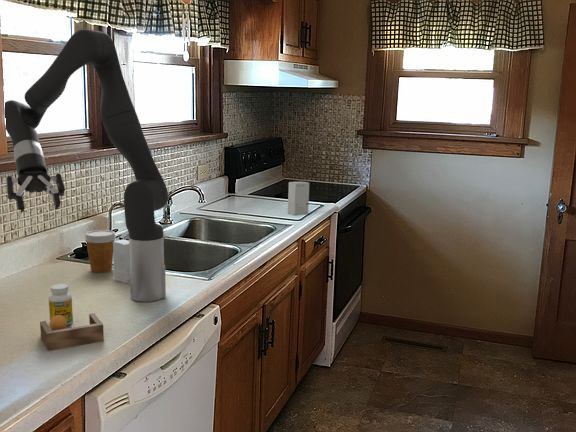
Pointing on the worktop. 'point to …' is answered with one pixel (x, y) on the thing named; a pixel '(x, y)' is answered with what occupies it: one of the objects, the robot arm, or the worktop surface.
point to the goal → (72, 334)
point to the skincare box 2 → (298, 198)
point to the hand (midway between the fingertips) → (40, 208)
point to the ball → (58, 322)
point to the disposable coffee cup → (100, 249)
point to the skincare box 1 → (121, 261)
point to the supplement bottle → (61, 302)
